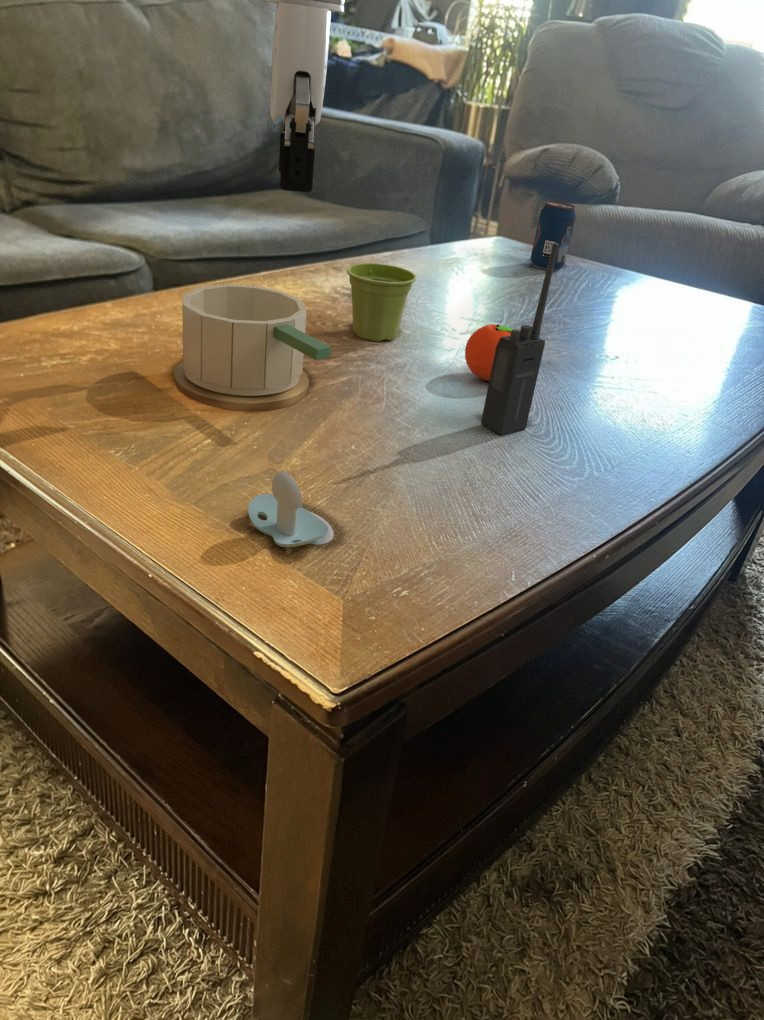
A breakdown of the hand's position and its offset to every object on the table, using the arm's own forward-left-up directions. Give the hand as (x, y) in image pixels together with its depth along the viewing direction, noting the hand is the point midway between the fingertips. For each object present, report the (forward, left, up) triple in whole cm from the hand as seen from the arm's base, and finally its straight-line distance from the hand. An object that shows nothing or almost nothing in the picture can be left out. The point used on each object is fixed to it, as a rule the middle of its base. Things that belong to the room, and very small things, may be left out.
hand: (294, 182), depth 82 cm
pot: (-7, -5, -20) cm, 21 cm away
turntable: (-7, -1, -21) cm, 22 cm away
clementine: (+22, -14, -21) cm, 34 cm away
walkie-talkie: (+12, -24, -21) cm, 34 cm away
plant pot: (+19, +5, -21) cm, 29 cm away
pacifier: (-21, -29, -21) cm, 42 cm away
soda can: (+81, +21, -21) cm, 87 cm away
